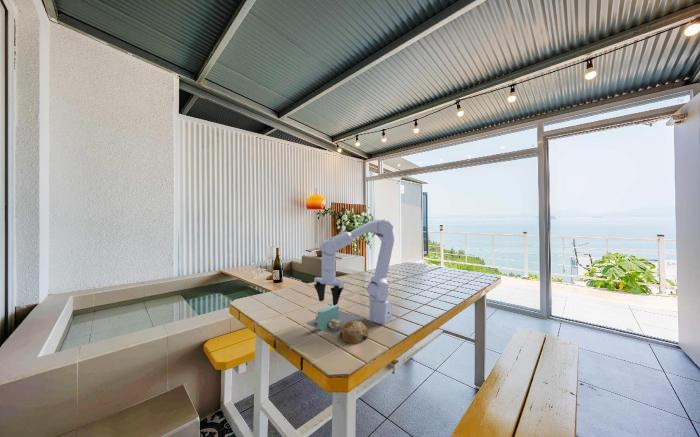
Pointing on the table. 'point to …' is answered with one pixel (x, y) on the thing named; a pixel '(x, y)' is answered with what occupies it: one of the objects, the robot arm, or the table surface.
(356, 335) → the bread roll
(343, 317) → the mat
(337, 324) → the birch u-shaped block
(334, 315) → the teal board
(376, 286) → the robot arm
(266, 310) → the table surface
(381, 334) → the table surface
